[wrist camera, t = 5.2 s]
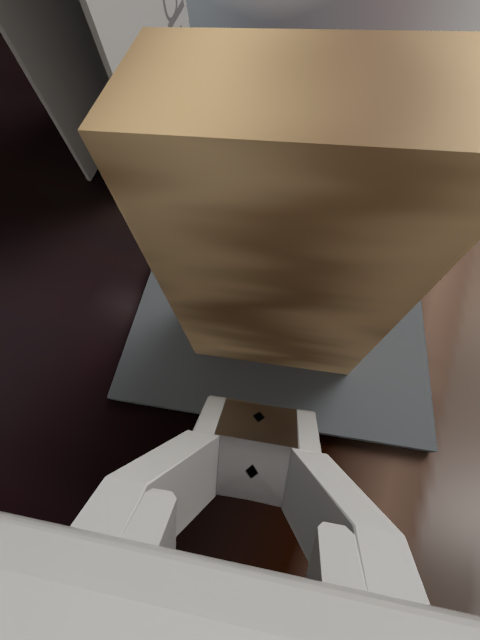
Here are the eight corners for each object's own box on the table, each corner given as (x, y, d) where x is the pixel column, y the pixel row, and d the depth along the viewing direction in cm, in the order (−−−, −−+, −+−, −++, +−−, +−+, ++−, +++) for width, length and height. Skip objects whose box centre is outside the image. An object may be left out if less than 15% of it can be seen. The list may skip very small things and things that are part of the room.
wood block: (195, 353, 16) (77, 130, 6) (210, 290, 18) (143, 27, 7) (347, 374, 15) (560, 157, 5) (348, 306, 17) (504, 31, 6)
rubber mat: (111, 399, 16) (106, 397, 15) (201, 138, 25) (200, 131, 25) (430, 452, 14) (437, 451, 14) (400, 149, 24) (403, 141, 23)
